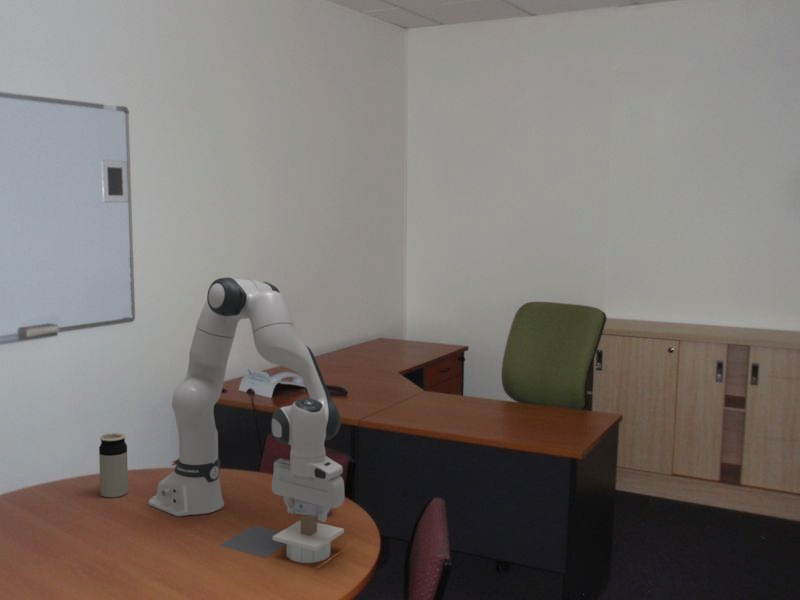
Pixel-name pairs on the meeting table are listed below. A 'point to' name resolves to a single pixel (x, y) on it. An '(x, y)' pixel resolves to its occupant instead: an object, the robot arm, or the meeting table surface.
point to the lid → (308, 533)
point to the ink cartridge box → (308, 508)
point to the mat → (255, 541)
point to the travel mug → (113, 465)
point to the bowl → (308, 553)
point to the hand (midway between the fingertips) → (306, 517)
